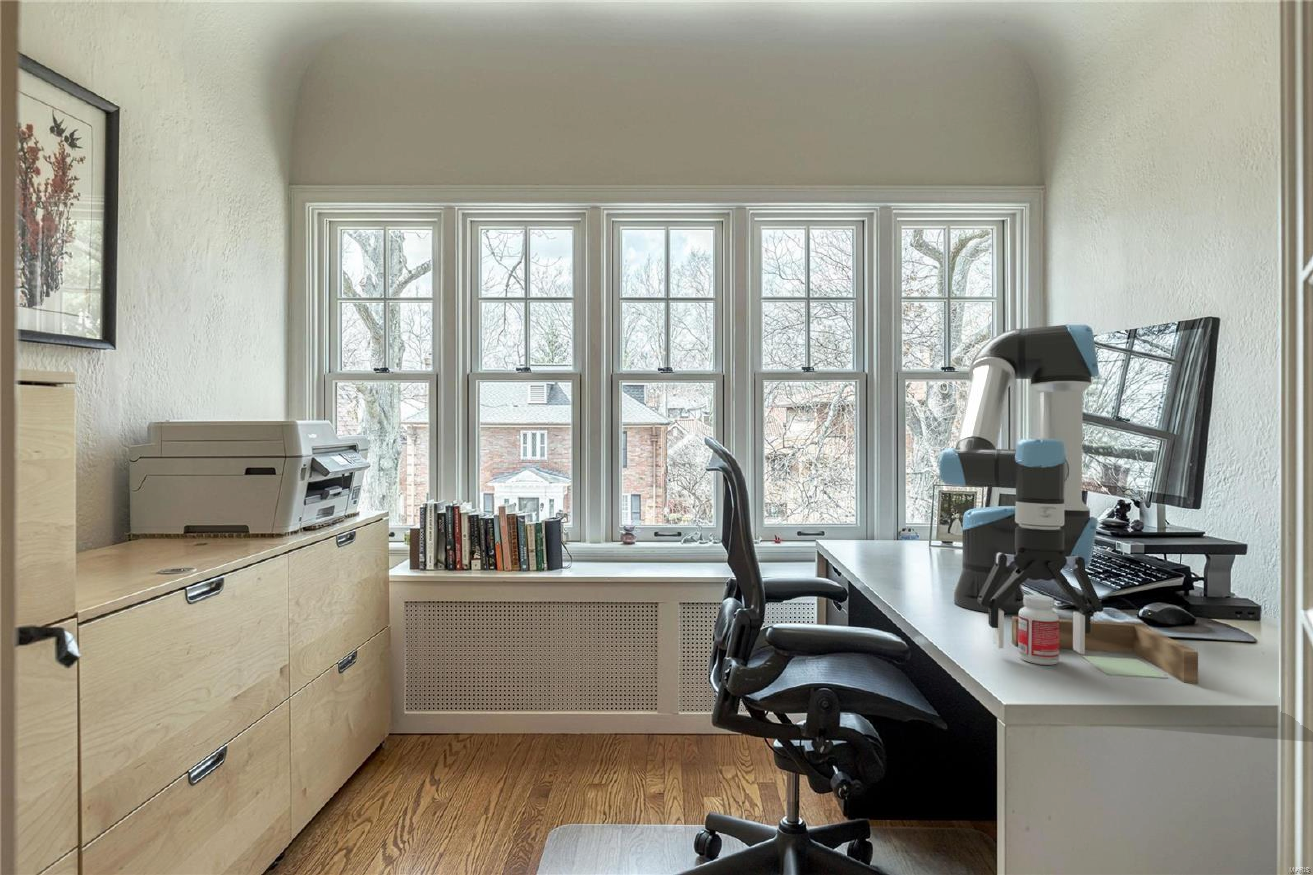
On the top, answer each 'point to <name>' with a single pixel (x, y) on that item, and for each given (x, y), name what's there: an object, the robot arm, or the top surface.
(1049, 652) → the pill bottle
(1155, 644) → the corner barrier
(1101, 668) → the pad
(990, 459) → the robot arm
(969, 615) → the top surface
